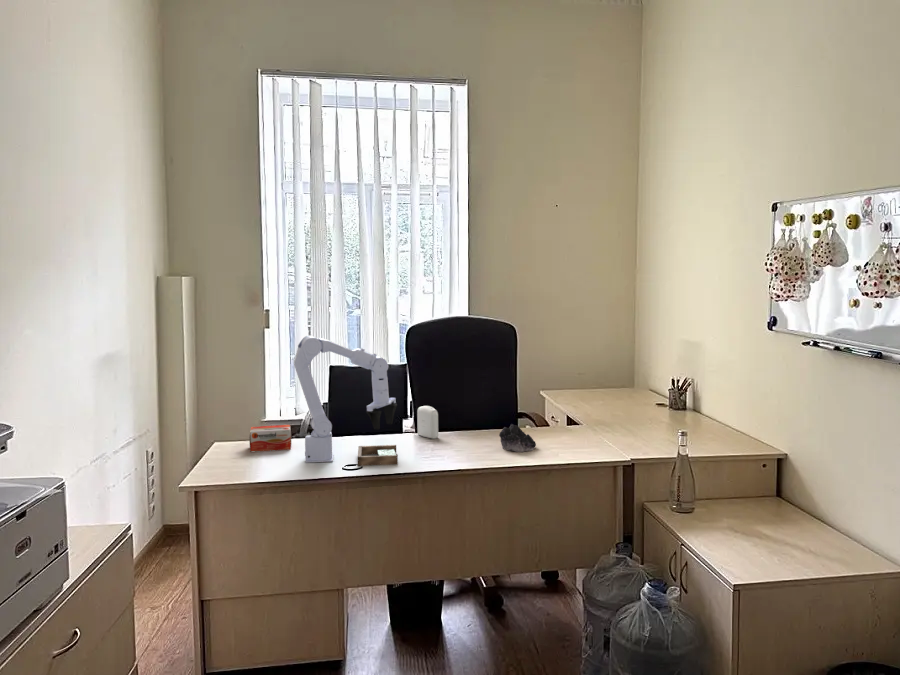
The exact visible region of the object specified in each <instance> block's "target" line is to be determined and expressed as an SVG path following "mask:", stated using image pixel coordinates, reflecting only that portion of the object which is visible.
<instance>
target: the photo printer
mask: <svg viewBox="0 0 900 675" xmlns="http://www.w3.org/2000/svg"><path fill="white" fill-rule="evenodd" d="M416 412H417V435H418V436H421V437H424V438H428V439H437V438H439V412H438V410H437V409H435V408H434V407H433V406H430V405H423V406H419V407H418V408H417V411H416Z"/></svg>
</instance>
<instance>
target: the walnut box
mask: <svg viewBox="0 0 900 675" xmlns="http://www.w3.org/2000/svg"><path fill="white" fill-rule="evenodd" d="M357 447H358V449H357V466H358V467H359V466H361V467H362V466H386V465H387V466H388V465H389V466H391V465H392V466H393V465H398V463H399V460H398V459H399V458H398V454H397V444H386V445H385V444H382V445H359V446H357ZM383 449H394V451H395V453H396V455H381V456H377V450H383Z"/></svg>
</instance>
